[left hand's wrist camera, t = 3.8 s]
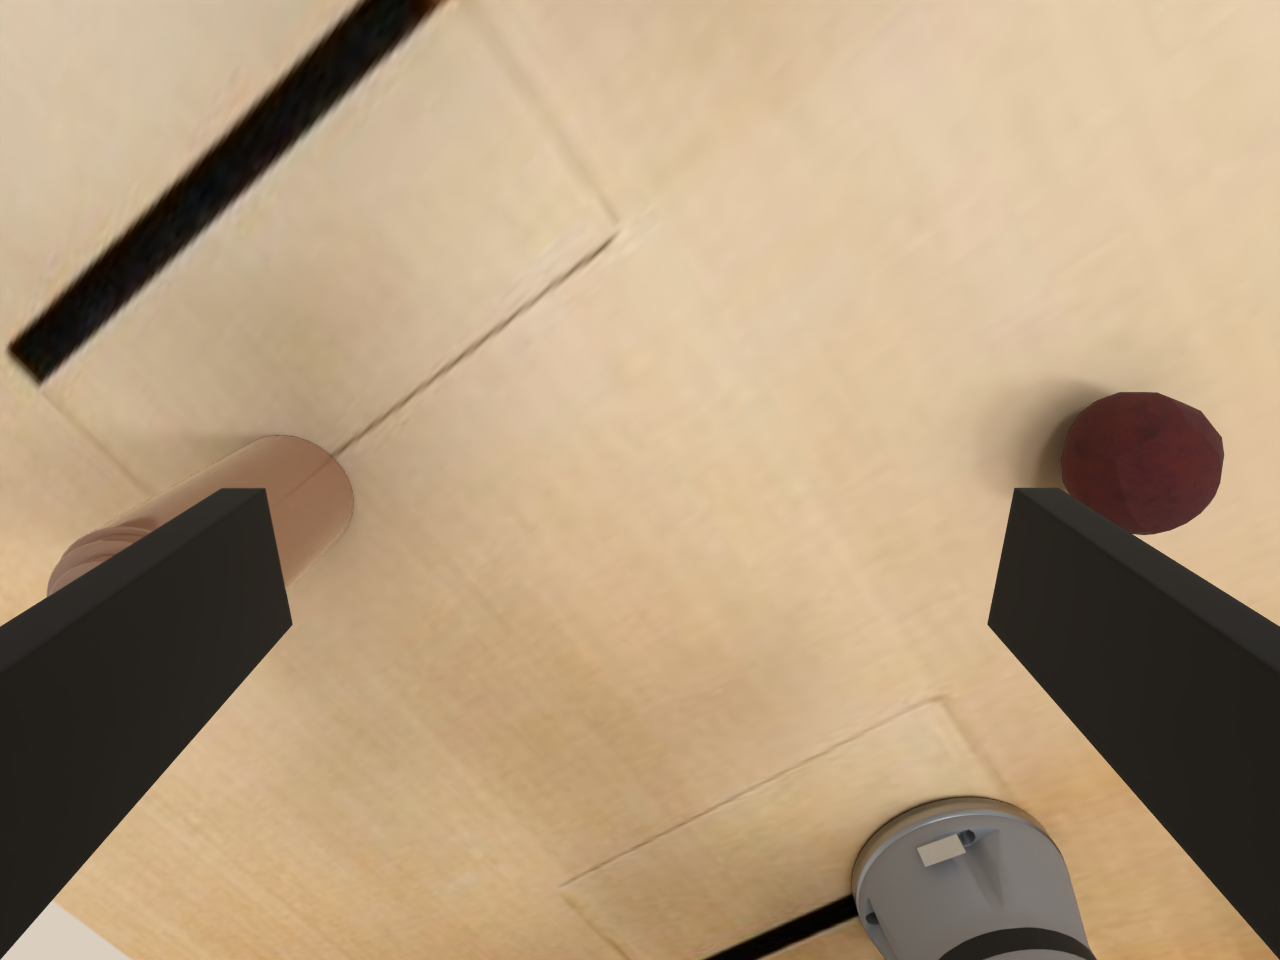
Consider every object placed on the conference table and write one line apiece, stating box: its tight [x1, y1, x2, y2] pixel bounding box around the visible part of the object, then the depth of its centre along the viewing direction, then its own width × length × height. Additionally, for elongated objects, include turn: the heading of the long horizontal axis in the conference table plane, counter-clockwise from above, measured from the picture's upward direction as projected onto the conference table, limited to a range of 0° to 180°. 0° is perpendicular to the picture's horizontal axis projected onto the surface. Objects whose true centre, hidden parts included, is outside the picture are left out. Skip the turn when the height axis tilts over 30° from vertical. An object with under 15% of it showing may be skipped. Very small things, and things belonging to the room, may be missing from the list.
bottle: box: [47, 435, 353, 597], centre depth 33 cm, size 8×8×19 cm
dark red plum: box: [1061, 392, 1224, 535], centre depth 37 cm, size 7×8×7 cm
